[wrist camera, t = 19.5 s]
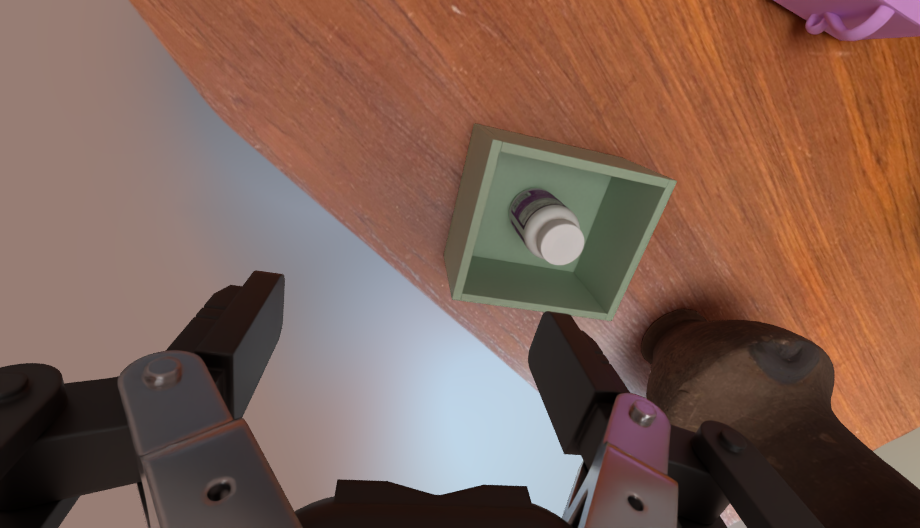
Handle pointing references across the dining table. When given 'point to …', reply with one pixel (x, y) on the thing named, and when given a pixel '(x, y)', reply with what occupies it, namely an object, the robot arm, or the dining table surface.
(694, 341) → the vase
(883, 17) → the teapot
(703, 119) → the dining table surface
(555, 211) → the pill bottle
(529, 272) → the bin
